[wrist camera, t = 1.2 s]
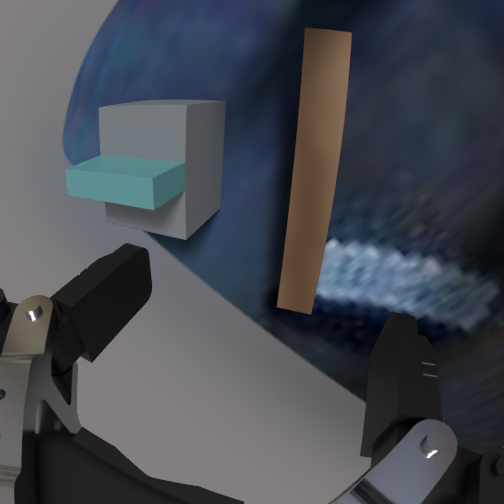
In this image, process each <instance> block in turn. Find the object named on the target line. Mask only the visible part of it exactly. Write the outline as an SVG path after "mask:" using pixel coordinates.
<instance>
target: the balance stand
mask: <svg viewBox="0 0 504 504" xmlns="http://www.w3.org/2000/svg"><path fill="white" fill-rule="evenodd" d="M225 115H226V101H214V100H146V101H138V102H130V103H123V104H116V105H110V106H104V107H99V131H100V152H101V156H98V157H95V158H93V159H90V160H87V161H85V162H82V163H80V164H77V165H75V166H72V167H70V168H67V169H65V173H66V181H67V189H68V195H71V196H77V197H83V198H88V199H94V200H100V201H105V207H106V214H107V222H108V223H112V224H117V225H121V226H126V227H130V228H135V229H139V230H143V231H148V232H152V233H157V234H161V235H166V236H170V237H175V238H179V239H184V240H187V239H188V238H189V237H190V236H191V235H192V234H193V233H194V232H195V231H196V230H197V229H198V228H200V227H201V226H202V225H203V224H204V223H205V222H206V221H207V220H208V219H209V218H210V217H211V216H213V215H214V214H215V213H216V212H217V211H218V210H219V209H220V208H221V193H222V170H223V150H224V131H225Z"/></svg>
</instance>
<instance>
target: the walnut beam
mask: <svg viewBox="0 0 504 504" xmlns="http://www.w3.org/2000/svg"><path fill="white" fill-rule="evenodd" d="M351 38H352V33H350V32H343V31H336V30H327V29H317V28H306V27H305V36H304V51H303V65H302V78H301V91H300V103H299V115H298V126H297V137H296V147H295V158H294V167H293V177H292V187H291V196H290V205H289V214H288V223H287V231H286V239H285V248H284V256H283V264H282V272H281V279H280V287H279V295H278V302H277V307H279V308H283V309H288V310H293V311H297V312H302V313H307V314H311V311H312V307H313V302H314V298H315V293H316V289H317V284H318V279H319V274H320V270H321V265H322V259H323V254H324V249H325V244H326V239H327V233H328V227H329V222H330V216H331V210H332V204H333V198H334V192H335V185H336V179H337V172H338V165H339V158H340V151H341V143H342V135H343V127H344V119H345V110H346V100H347V90H348V79H349V67H350V54H351Z"/></svg>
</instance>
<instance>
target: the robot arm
mask: <svg viewBox="0 0 504 504" xmlns="http://www.w3.org/2000/svg"><path fill="white" fill-rule="evenodd" d="M151 292H152V279H151V270H150V261H149V253H148V251H147V249H145V248H143V247H139V246H135V245H132V244H129V243H126V244H124V245H122V246H121V247H120V248H119V249H117V250H116V251H115V252H113V253H111V254H109V255H107V256H104V257H102V258H99V259H98V260H96V261H95V262H94V263H92V264H91V265H90V266H89V267H88V269H87V268H86V269H85V270H83V271H82V272H81V273H80V275H77V276H76V277H75V278H73V279H72V280H71V281H70V282H69V283H67V284H66V285H65V286H64V287H62V288H61V289H60V290H59V291H58V292H56V293H55V294H54V295H53V296H52V297H50V298H48V297H46V296H43V295H36V296H32V297H29V298H27V299H25V300H23V301H22V302H21V303H20V304H16V303H11V302H8V301H7V299H6V297H5V294H4V292H3V290H2V289H1V288H0V504H244V502H243V501H240V500H237V499H234V498H230V497H227V496H224V495H221V494H218V493H215V492H213V491H210V490H207V489H204V488H202V487H199V486H193V485H187V484H181V483H175V482H171V481H166V480H161V479H156V478H152V477H150V476H148V475H146V474H145V473H144V472H142V471H141V470H140V469H139V468H138V467H137V466H135V465H134V464H133V463H132V462H131V461H130V460H129V459H128V458H126V457H125V456H124V455H123V454H122V453H121V452H120V451H119V450H118V449H117V448H116V447H115V446H113V445H111V444H109V443H108V442H106V441H104V440H102V439H101V438H99V437H98V436H96V435H95V434H93V433H91V432H89V431H88V430H87V429H85V428H83V427H81V424H80V422H79V419H78V415H77V375H78V365H77V362H76V360H77V359H78V358H79V357H80V356H81V357H83V358H84V359H86V360H88V361H90V362H91V363H92V362H93V361H94V360H95V359H96V358H97V357H98V355H99V354H100V353H101V352H102V351H103V350H104V349H105V347H106V346H107V345H108V344H109V343H110V342H111V341H112V339H114V337H115V336H116V335H117V334H118V333H119V332H120V331H121V330H122V329H123V328H124V326H125V325H126V324H127V323H128V322H129V321H130V320H131V319H132V317H133V316H134V315H135V314H136V313H137V312H138V311H139V310H140V309H141V308H142V307H143V306H144V305H145V303H146V302H147V301H148V300H149V298H150V295H151ZM435 365H436V361H435V354H434V349H433V348H432V346H431V344H430V343H429V341H428V339H427V338H426V336H421V335H418V330H417V323H416V319H415V317H413V316H409V315H404V314H400V313H395V312H391V313H390V314H389V316H388V318H387V320H386V323H385V325H384V327H383V329H382V331H381V333H380V335H379V337H378V340H377V342H376V344H375V346H374V348H373V350H372V353H371V357H370V361H369V371H368V387H367V399H366V410H365V411H366V412H365V420H364V429H363V439H362V445H361V454H360V456H363V457H371V458H372V460H371V467H370V468H369V469H368V470H367V471H366V472H365V473H364V474H363V475H362V476H361V477H359V478H358V479H357V480H356V481H355V482H354V483H353V484H351V485H350V486H349V487H348V488H347V489H345V490H344V491H343V492H342V493H341V494H339V495H338V496H337V497H336V498H335V499H333V500H332V501H331V502H329V503H328V504H504V448H503V447H493V448H491V449H489V450H488V451H486V452H485V453H484V454H483V455H480V454H478V453H475V452H473V451H470V450H468V449H465V448H463V447H461V446H459V445H457V441H456V437H455V435H454V433H453V431H452V430H451V429H450V428H449V427H448V426H447V425H446V424H444V423H443V420H442V409H441V399H440V390H439V382H438V378H437V375H438V374H437V367H436V366H435Z"/></svg>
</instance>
